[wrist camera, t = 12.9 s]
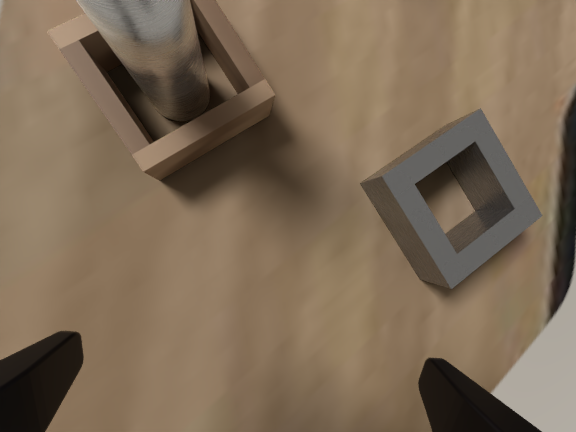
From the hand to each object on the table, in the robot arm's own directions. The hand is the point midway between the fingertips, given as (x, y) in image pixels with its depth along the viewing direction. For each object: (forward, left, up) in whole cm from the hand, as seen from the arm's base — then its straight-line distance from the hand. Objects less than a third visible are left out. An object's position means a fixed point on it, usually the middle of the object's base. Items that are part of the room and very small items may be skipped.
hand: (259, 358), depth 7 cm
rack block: (+3, +12, -11) cm, 16 cm away
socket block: (+14, -3, -11) cm, 18 cm away
